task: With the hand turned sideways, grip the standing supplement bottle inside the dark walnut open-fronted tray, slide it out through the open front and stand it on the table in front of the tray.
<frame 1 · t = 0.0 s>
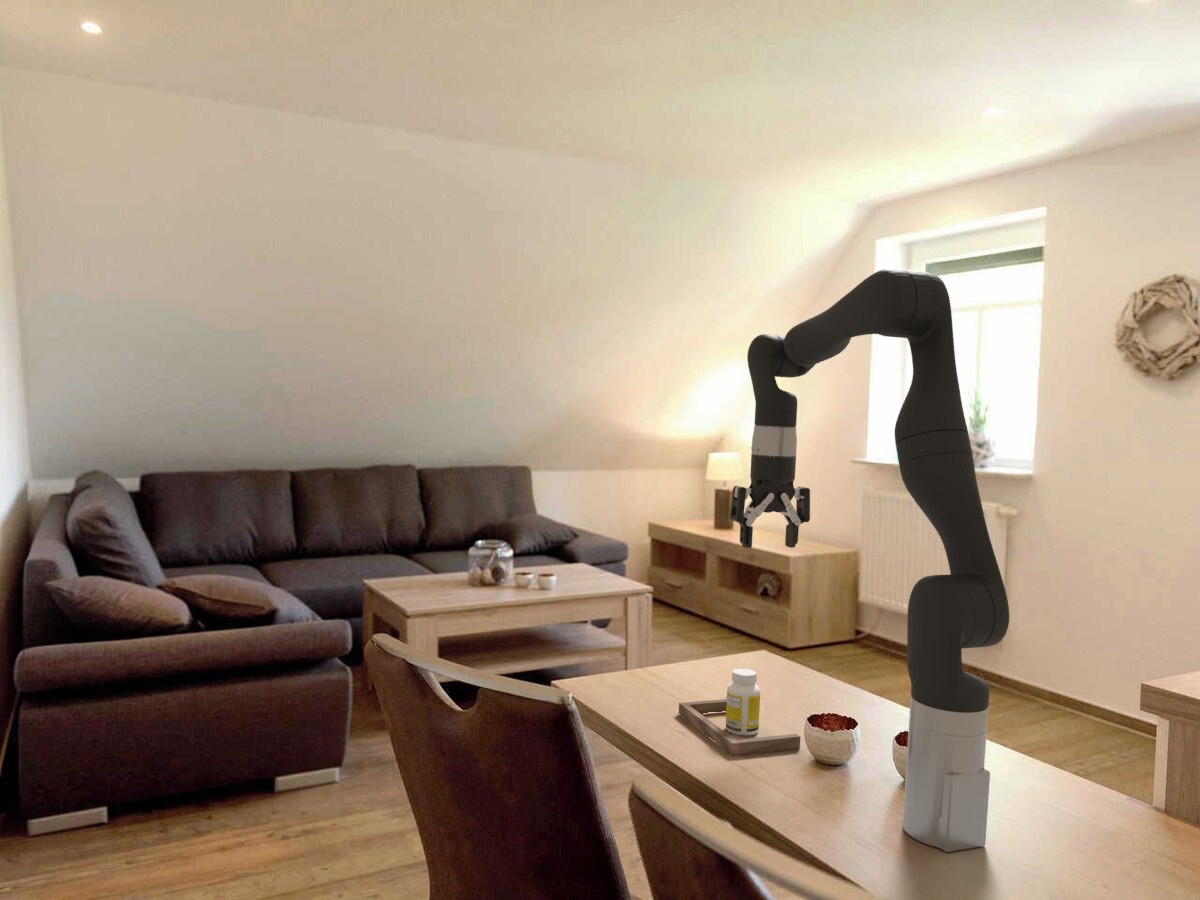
hand: (768, 547, 158), 29 cm above the table, tool pointing down, fingers open, 8 cm apart
walnut tray: (736, 730, 151), on the table
supplement bottle: (741, 731, 152), on the table
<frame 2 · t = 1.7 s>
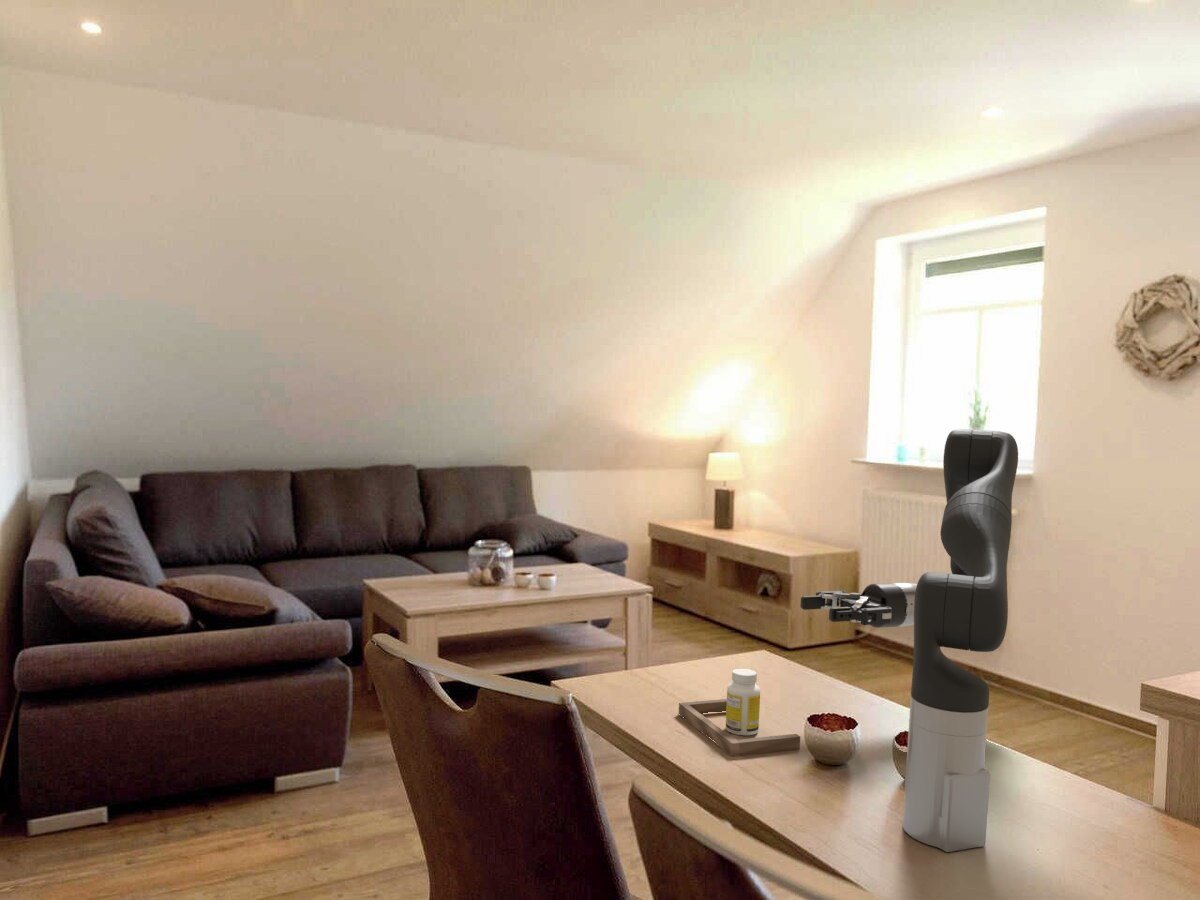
hand: (815, 608, 155), 20 cm above the table, tool horizontal, fingers open, 8 cm apart
nothing on the table moved.
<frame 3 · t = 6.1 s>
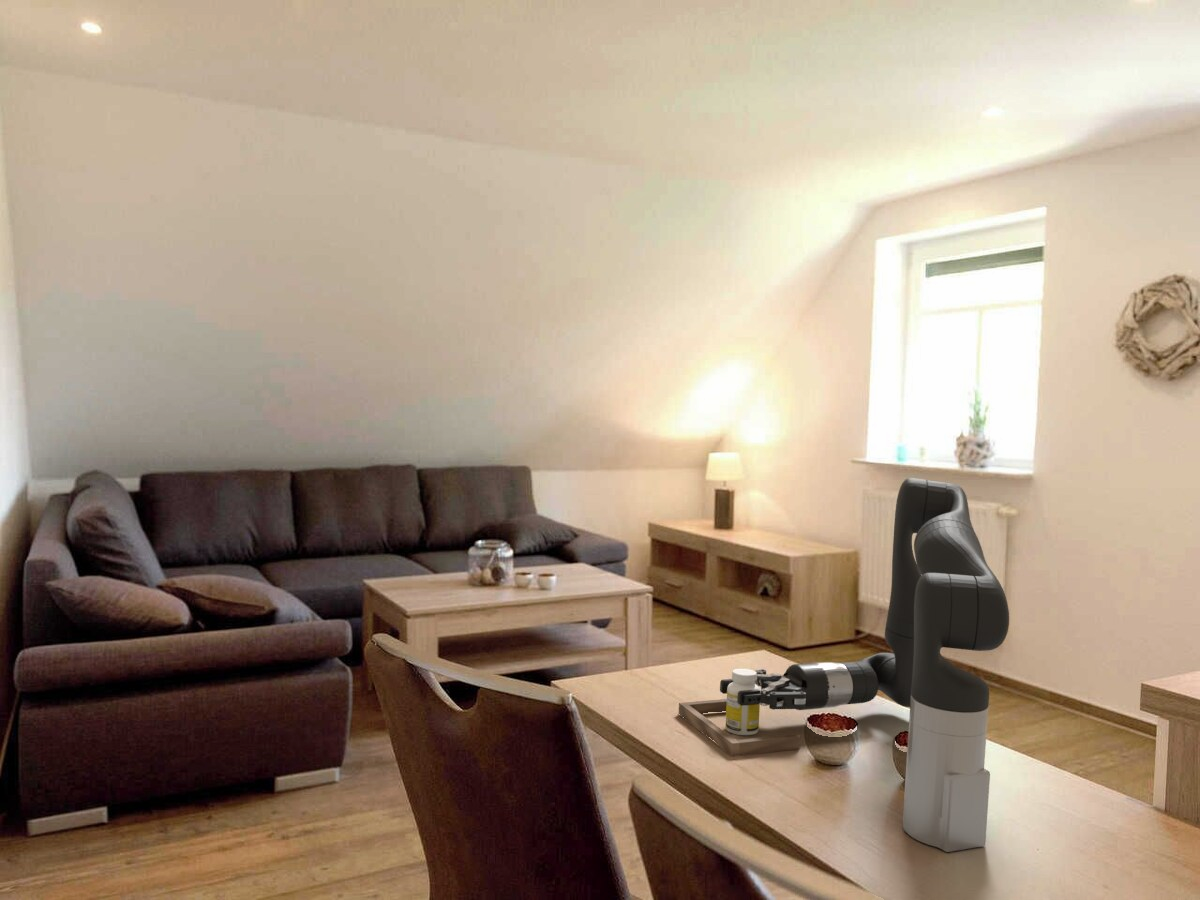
hand: (730, 692, 150), 7 cm above the table, tool horizontal, fingers closed on supplement bottle, 5 cm apart
supplement bottle: (741, 731, 152), on the table, touching gripper
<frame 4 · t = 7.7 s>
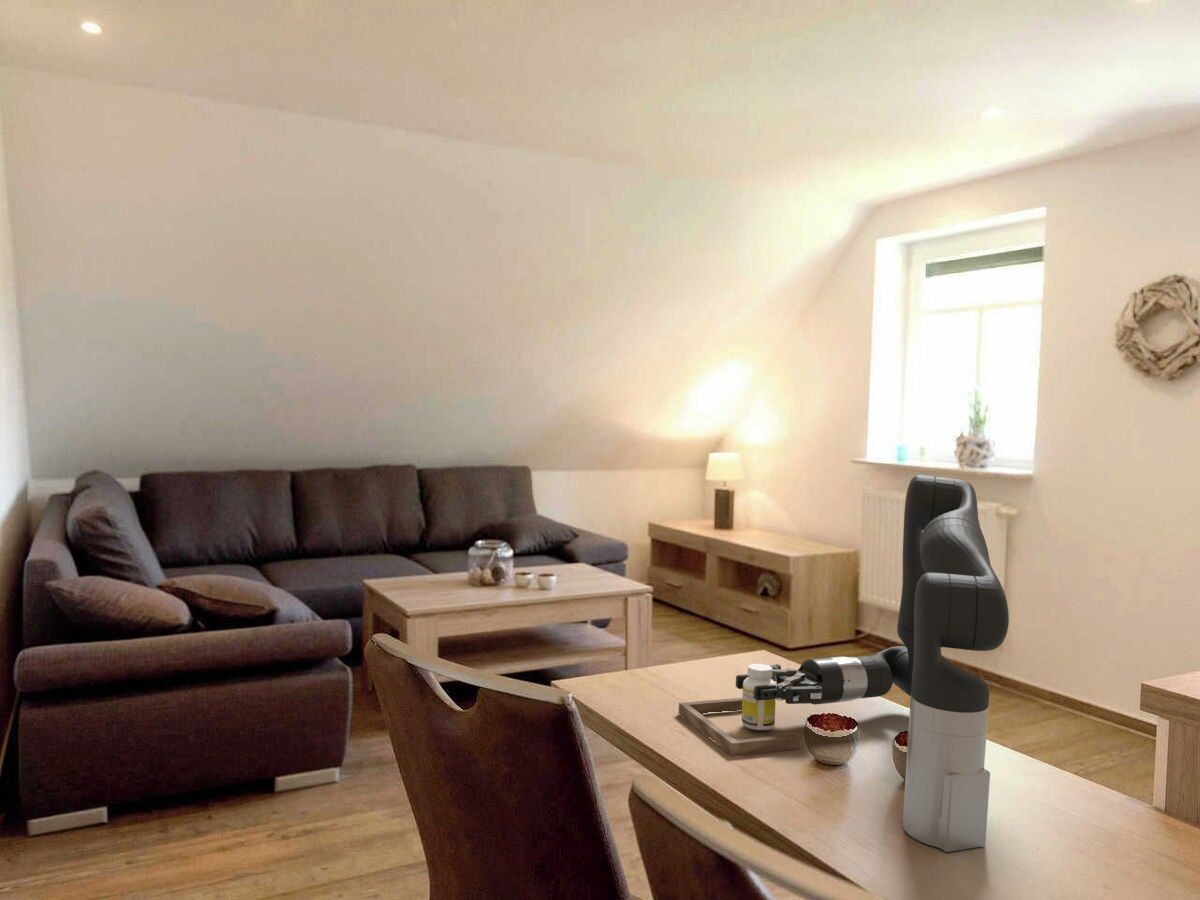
hand: (746, 687, 151), 7 cm above the table, tool horizontal, fingers closed on supplement bottle, 5 cm apart
supplement bottle: (757, 726, 153), on the table, touching gripper
when the fingers open (7 cm above the table, at t = 9.7 s): supplement bottle stays where it is, on the table.
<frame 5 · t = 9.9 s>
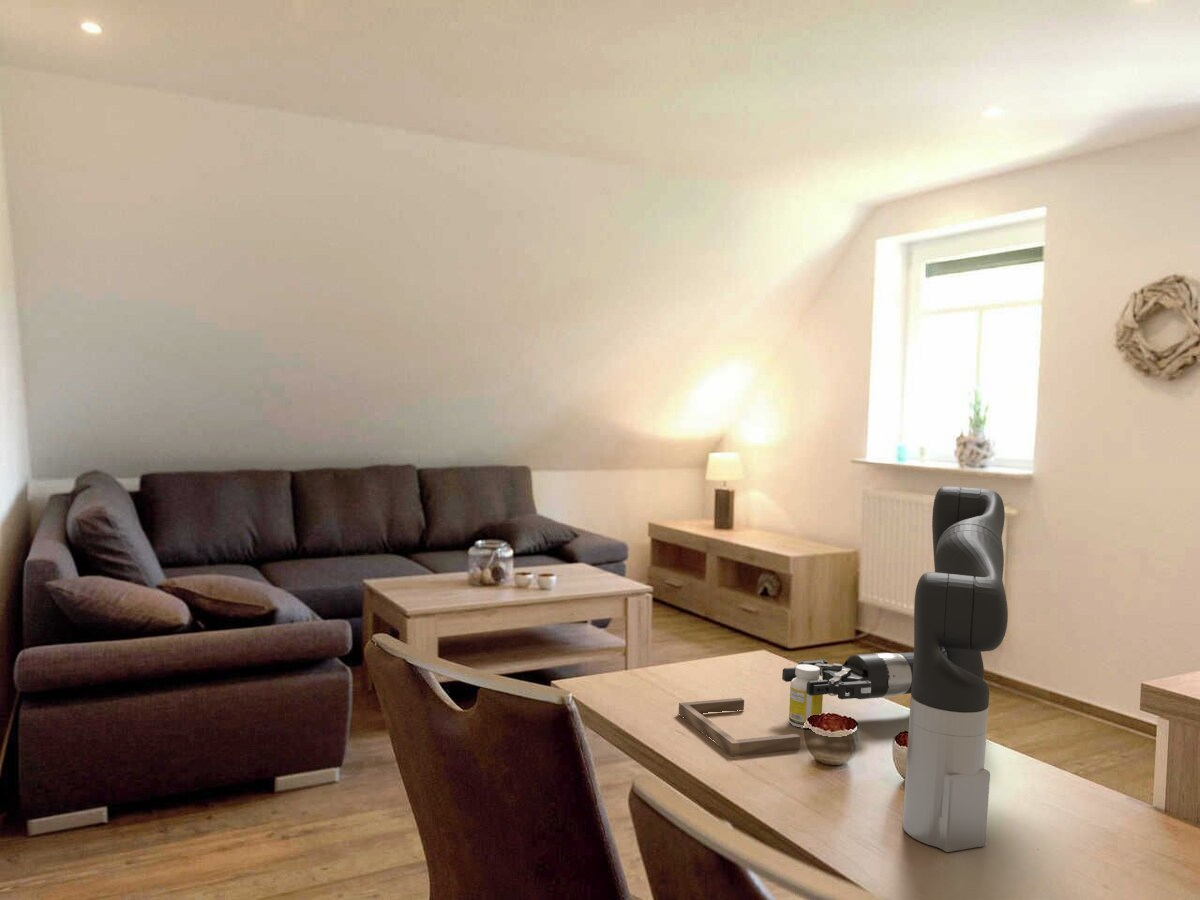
hand: (795, 681, 155), 7 cm above the table, tool horizontal, fingers open, 7 cm apart
supplement bottle: (804, 725, 156), on the table
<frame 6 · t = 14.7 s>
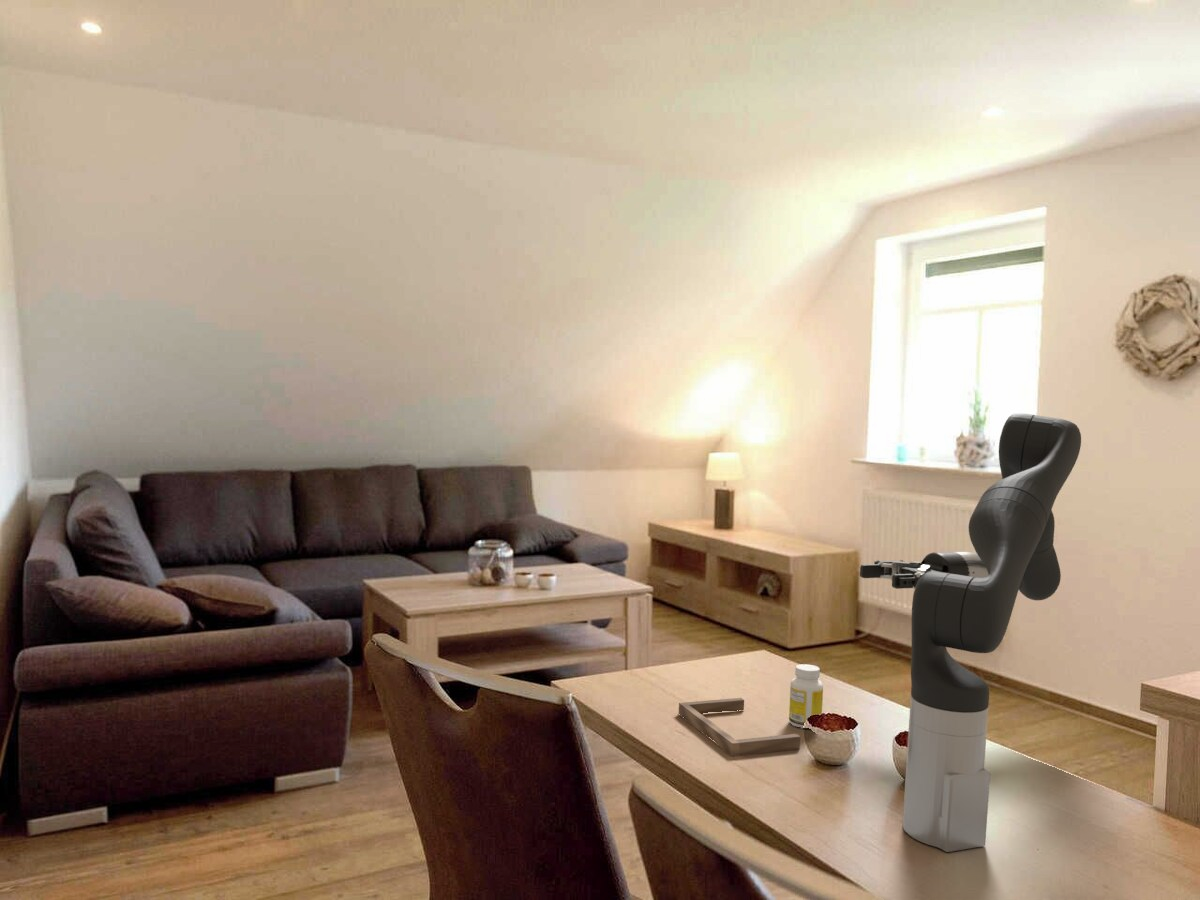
hand: (876, 576, 153), 26 cm above the table, tool horizontal, fingers open, 8 cm apart
nothing on the table moved.
at the end: supplement bottle inside the target area (0.2 cm from its centre), on the table; supplement bottle tilted 0°; the gripper is holding nothing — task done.
